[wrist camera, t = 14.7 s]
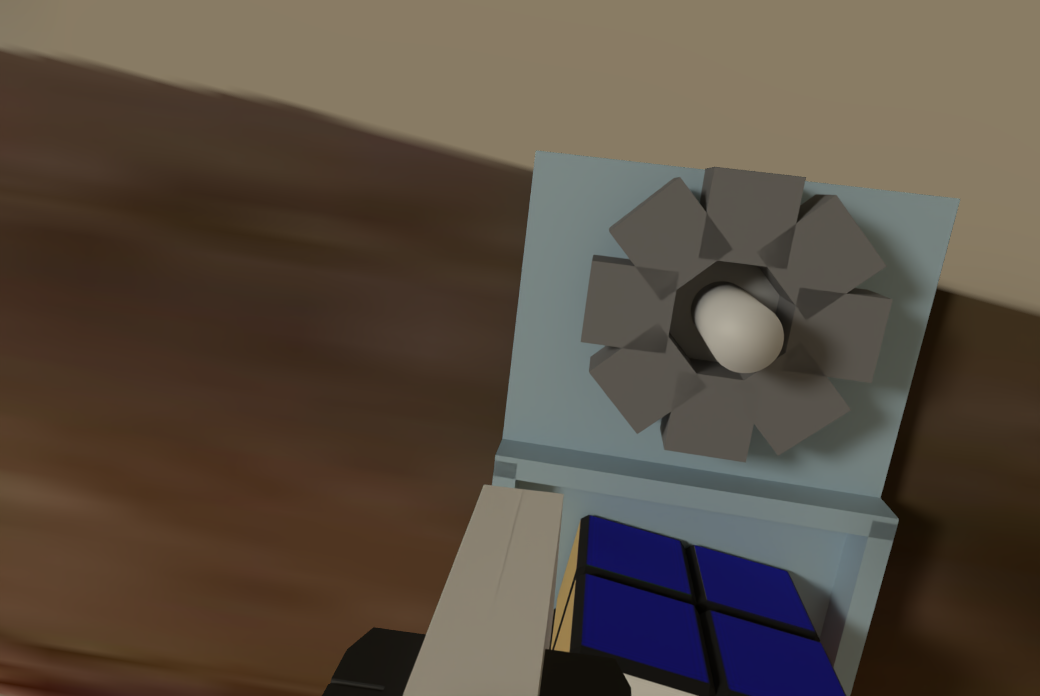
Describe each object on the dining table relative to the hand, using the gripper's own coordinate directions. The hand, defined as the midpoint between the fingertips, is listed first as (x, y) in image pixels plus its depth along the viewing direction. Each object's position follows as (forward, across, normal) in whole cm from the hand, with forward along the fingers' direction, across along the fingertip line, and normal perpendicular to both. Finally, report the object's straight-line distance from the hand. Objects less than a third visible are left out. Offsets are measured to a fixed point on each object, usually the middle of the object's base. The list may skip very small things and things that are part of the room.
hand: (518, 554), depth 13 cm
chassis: (+19, +6, -8) cm, 21 cm away
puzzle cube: (+18, +5, -14) cm, 23 cm away
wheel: (+17, +6, +2) cm, 18 cm away
